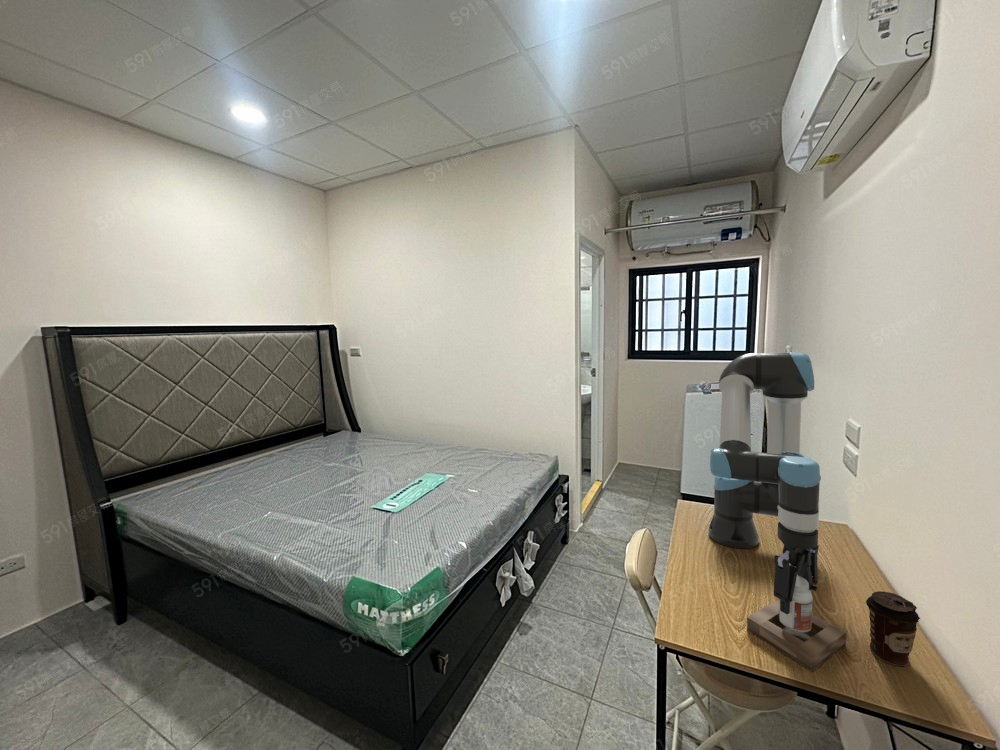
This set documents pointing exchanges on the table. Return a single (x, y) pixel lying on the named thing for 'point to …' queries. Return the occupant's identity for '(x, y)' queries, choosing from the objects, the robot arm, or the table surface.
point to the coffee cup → (892, 627)
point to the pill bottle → (802, 606)
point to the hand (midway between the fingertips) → (795, 618)
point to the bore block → (797, 637)
